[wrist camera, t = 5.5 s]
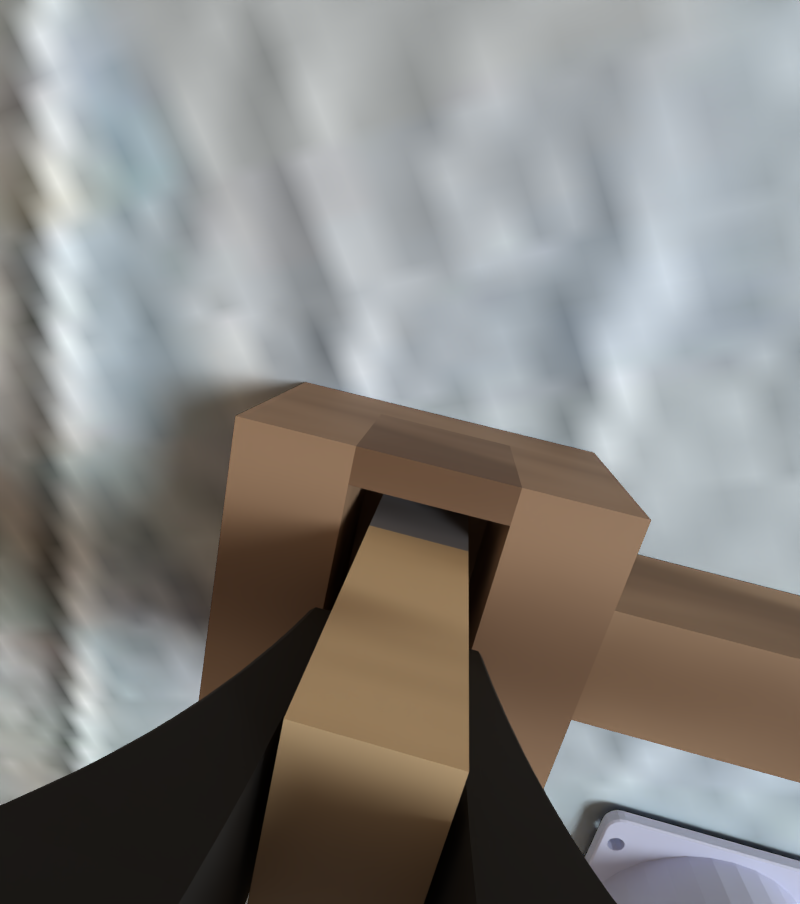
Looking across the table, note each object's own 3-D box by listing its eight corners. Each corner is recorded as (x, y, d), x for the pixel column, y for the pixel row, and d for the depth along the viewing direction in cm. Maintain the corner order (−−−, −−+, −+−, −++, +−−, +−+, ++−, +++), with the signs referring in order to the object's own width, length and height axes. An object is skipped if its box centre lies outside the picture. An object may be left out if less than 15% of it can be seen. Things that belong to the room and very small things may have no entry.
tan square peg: (421, 659, 14) (371, 1057, 7) (352, 640, 15) (226, 1010, 7) (468, 496, 13) (468, 771, 5) (390, 476, 13) (284, 718, 5)
